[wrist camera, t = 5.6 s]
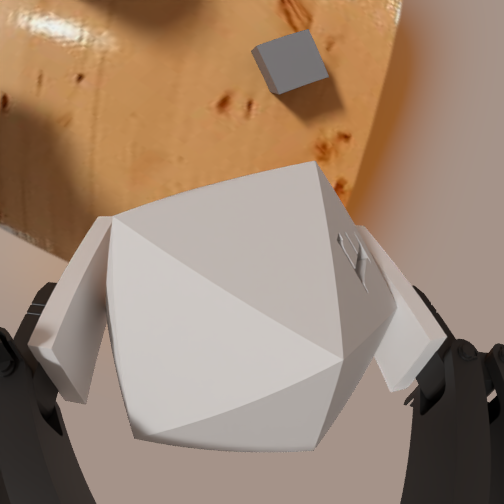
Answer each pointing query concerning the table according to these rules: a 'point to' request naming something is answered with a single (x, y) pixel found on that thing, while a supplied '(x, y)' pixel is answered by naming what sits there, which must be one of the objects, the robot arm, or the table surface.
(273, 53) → the grey cube
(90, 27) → the table surface
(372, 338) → the die
